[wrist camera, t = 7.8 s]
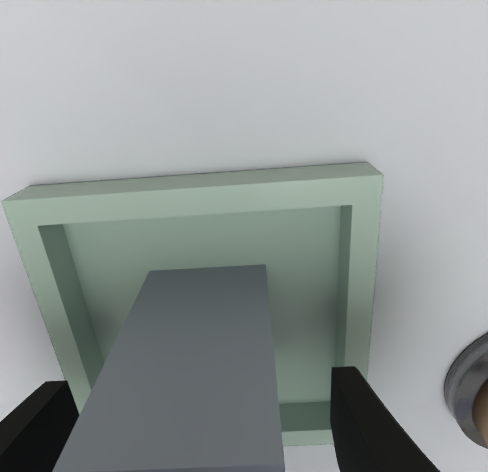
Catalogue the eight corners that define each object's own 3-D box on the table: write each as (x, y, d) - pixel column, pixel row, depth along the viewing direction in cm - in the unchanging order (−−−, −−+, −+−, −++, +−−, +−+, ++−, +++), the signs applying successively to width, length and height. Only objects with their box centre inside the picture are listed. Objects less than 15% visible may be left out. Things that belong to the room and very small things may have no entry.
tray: (351, 410, 16) (361, 442, 14) (105, 421, 16) (92, 454, 15) (367, 161, 11) (383, 174, 10) (29, 185, 12) (0, 201, 10)
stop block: (270, 355, 14) (288, 588, 8) (167, 360, 14) (103, 592, 8) (265, 264, 13) (284, 464, 6) (149, 270, 13) (52, 473, 6)
